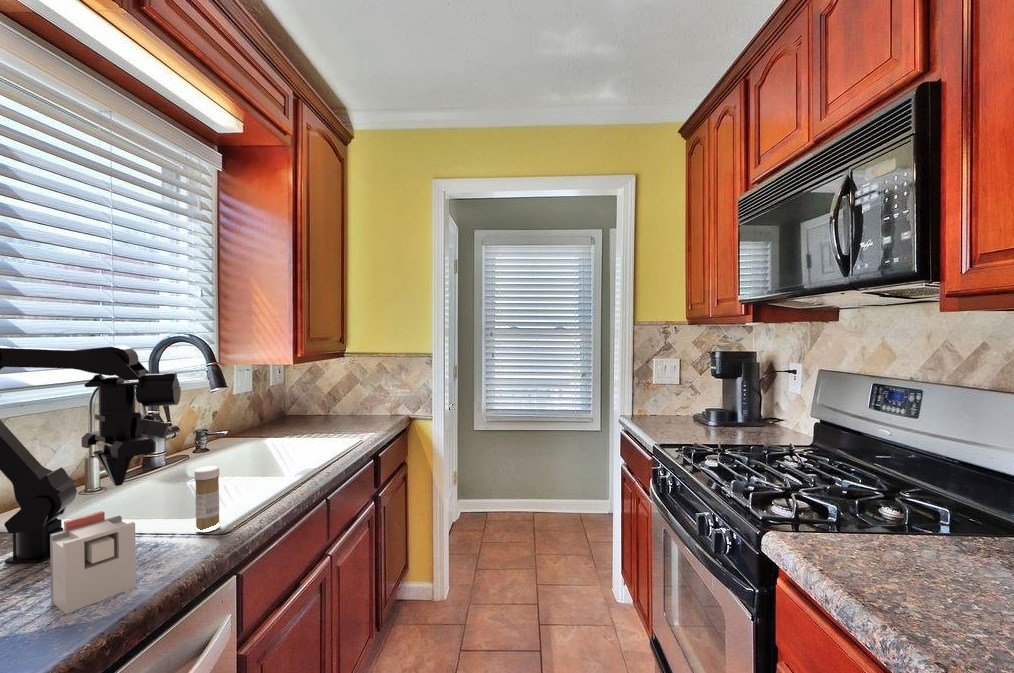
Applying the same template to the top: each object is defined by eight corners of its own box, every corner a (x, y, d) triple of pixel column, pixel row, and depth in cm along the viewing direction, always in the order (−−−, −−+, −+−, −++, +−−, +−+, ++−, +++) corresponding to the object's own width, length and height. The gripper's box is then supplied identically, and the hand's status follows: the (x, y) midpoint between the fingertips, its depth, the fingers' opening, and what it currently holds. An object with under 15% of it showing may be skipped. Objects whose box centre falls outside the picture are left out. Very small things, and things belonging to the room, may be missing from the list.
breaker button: (64, 560, 78) (64, 521, 78) (102, 548, 82) (102, 511, 82) (83, 573, 74) (82, 531, 73) (122, 560, 78) (122, 520, 78)
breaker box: (51, 601, 75) (50, 534, 75) (119, 576, 83) (119, 515, 83) (65, 614, 72) (64, 543, 72) (135, 586, 80) (135, 523, 80)
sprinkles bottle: (218, 523, 106) (217, 463, 106) (221, 530, 102) (220, 468, 102) (193, 529, 103) (193, 467, 103) (196, 536, 99) (195, 472, 99)
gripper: (184, 406, 97) (185, 481, 98) (143, 399, 107) (144, 468, 107) (118, 414, 88) (119, 498, 88) (80, 406, 98) (81, 481, 98)
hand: (118, 485), depth 96 cm, fingers closed
